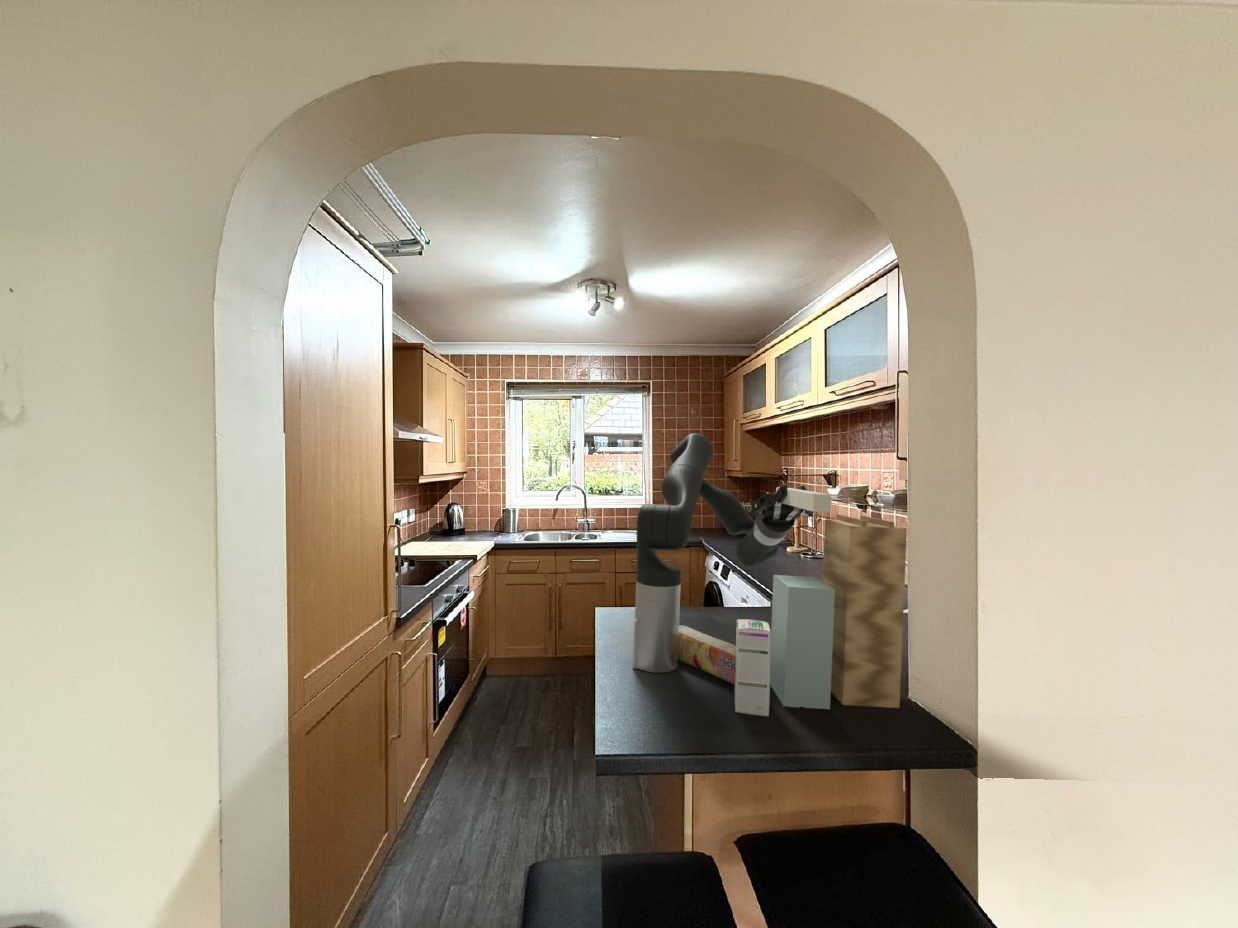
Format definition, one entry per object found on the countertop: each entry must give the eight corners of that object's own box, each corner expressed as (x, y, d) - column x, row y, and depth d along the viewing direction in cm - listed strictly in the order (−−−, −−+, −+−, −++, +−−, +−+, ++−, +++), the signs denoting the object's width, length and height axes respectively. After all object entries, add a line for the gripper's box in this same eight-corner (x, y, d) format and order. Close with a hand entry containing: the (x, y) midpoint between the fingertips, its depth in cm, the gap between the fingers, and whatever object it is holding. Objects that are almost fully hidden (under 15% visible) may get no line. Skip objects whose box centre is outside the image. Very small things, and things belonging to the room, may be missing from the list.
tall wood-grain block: (842, 704, 92) (850, 520, 92) (818, 677, 104) (825, 514, 104) (899, 707, 92) (906, 522, 92) (868, 680, 104) (875, 516, 104)
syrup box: (769, 717, 86) (773, 630, 86) (733, 712, 87) (737, 627, 87) (766, 702, 92) (770, 620, 92) (733, 697, 93) (736, 617, 93)
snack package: (765, 685, 99) (766, 650, 99) (744, 694, 95) (745, 657, 95) (684, 652, 116) (686, 622, 116) (663, 658, 112) (665, 626, 112)
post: (783, 706, 90) (788, 586, 90) (769, 682, 100) (773, 574, 100) (829, 709, 90) (834, 589, 90) (810, 684, 100) (814, 576, 100)
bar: (812, 511, 87) (813, 493, 87) (775, 501, 110) (776, 487, 110) (830, 512, 87) (831, 494, 87) (789, 502, 110) (790, 488, 110)
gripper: (740, 507, 119) (757, 471, 104) (801, 510, 119) (827, 474, 104) (742, 538, 116) (760, 505, 101) (805, 540, 115) (833, 508, 100)
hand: (794, 489), depth 102 cm, fingers closed on bar, 3 cm apart
